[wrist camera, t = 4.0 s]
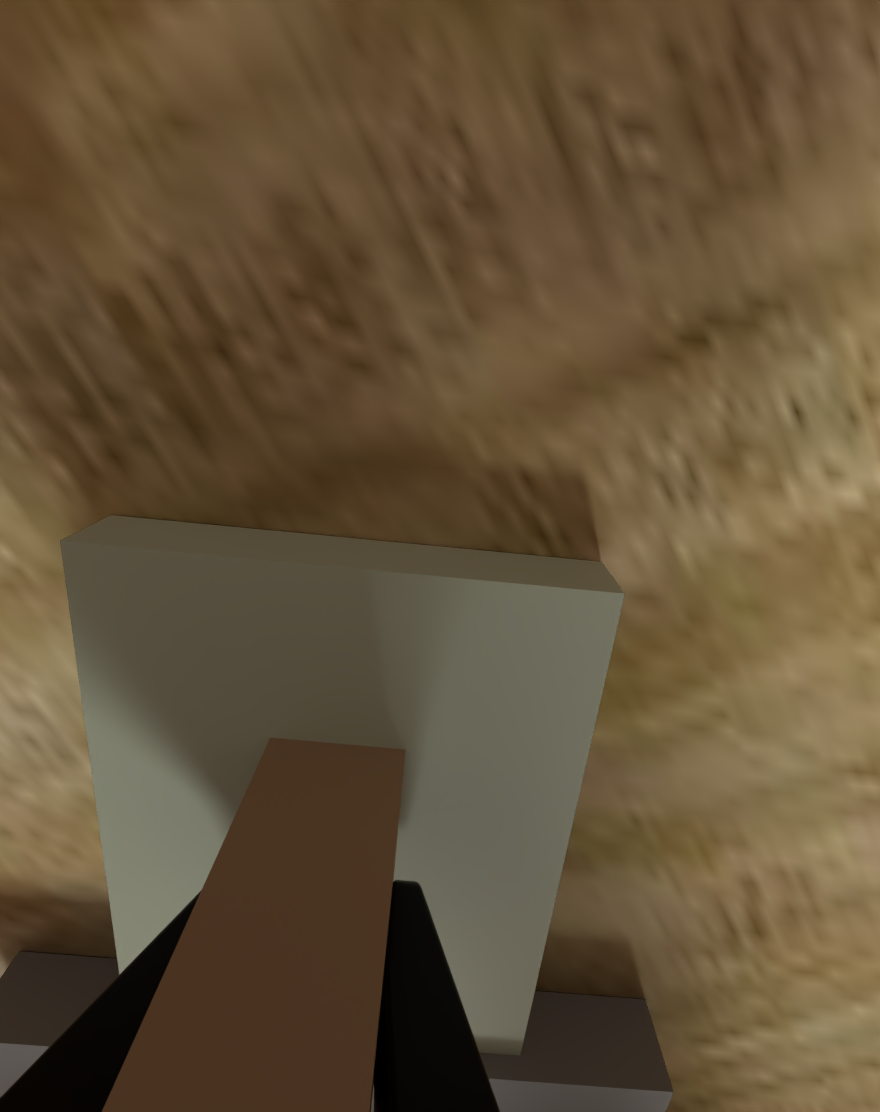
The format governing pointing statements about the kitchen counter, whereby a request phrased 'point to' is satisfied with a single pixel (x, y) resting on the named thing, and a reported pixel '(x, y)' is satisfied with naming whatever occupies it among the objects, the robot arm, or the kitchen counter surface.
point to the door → (332, 811)
